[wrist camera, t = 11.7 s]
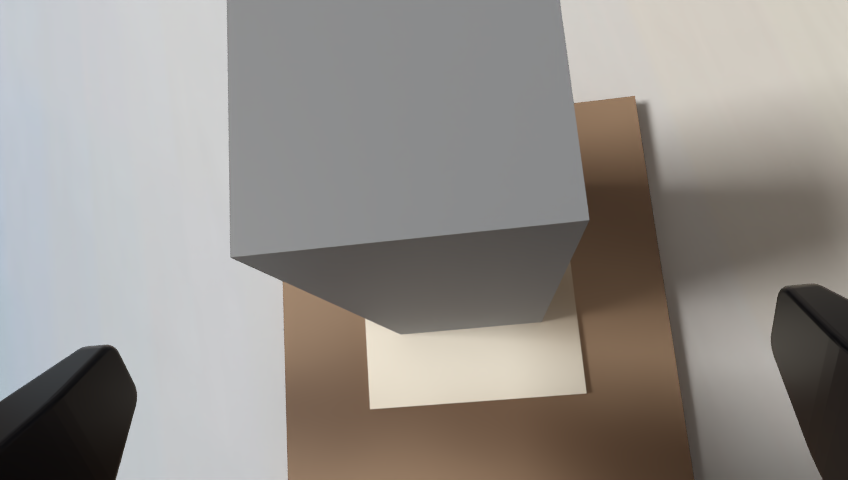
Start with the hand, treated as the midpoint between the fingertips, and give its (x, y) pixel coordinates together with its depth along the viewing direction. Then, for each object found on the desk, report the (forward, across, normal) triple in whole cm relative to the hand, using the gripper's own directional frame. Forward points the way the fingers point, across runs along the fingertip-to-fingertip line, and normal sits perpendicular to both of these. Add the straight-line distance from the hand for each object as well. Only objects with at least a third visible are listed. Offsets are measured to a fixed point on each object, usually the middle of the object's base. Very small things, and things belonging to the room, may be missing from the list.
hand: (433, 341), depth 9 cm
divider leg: (+9, 0, +5) cm, 10 cm away
